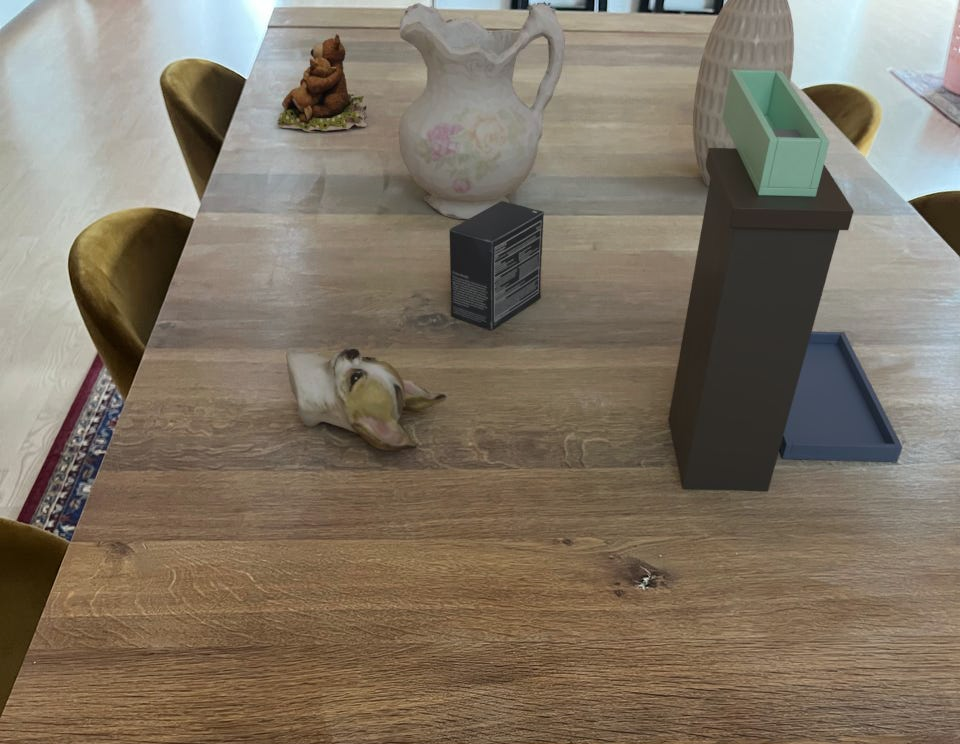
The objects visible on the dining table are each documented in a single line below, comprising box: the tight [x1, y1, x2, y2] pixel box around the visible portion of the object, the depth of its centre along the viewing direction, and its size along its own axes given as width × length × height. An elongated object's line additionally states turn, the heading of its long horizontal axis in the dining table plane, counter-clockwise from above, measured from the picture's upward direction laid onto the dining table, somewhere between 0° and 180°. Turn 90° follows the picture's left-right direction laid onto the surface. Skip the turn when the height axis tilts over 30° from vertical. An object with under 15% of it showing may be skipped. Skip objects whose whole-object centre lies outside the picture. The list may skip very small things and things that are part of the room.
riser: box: [667, 148, 854, 492], centre depth 86 cm, size 9×13×26 cm
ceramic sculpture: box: [285, 348, 448, 452], centre depth 95 cm, size 11×9×15 cm
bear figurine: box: [277, 33, 368, 133], centre depth 160 cm, size 14×15×12 cm
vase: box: [692, 0, 795, 188], centre depth 137 cm, size 13×13×28 cm
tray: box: [779, 330, 903, 463], centre depth 103 cm, size 11×23×2 cm, turn 179°
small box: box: [448, 201, 545, 331], centre depth 113 cm, size 11×6×10 cm, turn 144°
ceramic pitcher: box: [398, 1, 566, 220], centre depth 131 cm, size 22×20×25 cm
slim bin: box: [722, 69, 831, 197], centre depth 79 cm, size 4×18×4 cm, turn 179°
